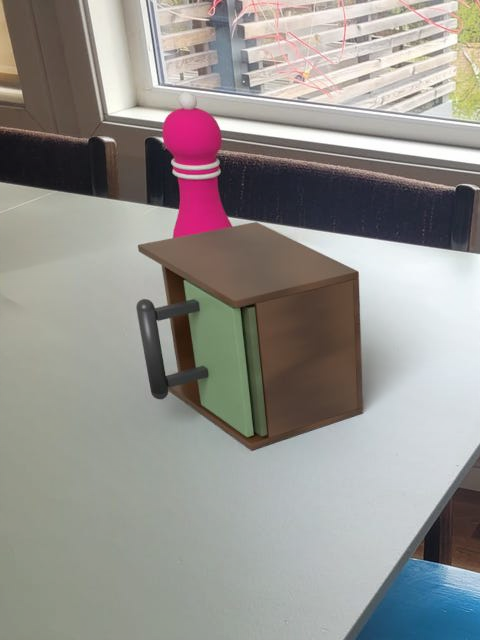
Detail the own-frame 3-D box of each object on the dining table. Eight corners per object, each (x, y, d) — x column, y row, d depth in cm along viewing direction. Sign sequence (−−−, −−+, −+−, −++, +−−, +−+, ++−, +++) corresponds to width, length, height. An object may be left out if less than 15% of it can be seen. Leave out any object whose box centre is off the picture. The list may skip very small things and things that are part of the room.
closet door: (192, 455, 82) (172, 323, 75) (147, 420, 87) (124, 292, 80) (254, 435, 85) (240, 307, 78) (207, 402, 90) (190, 278, 83)
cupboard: (251, 450, 85) (234, 301, 77) (160, 385, 94) (137, 244, 86) (363, 413, 92) (359, 271, 83) (268, 355, 100) (256, 221, 92)
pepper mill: (203, 302, 110) (177, 102, 98) (165, 284, 114) (135, 89, 101) (255, 287, 115) (237, 93, 102) (218, 271, 118) (195, 81, 106)
